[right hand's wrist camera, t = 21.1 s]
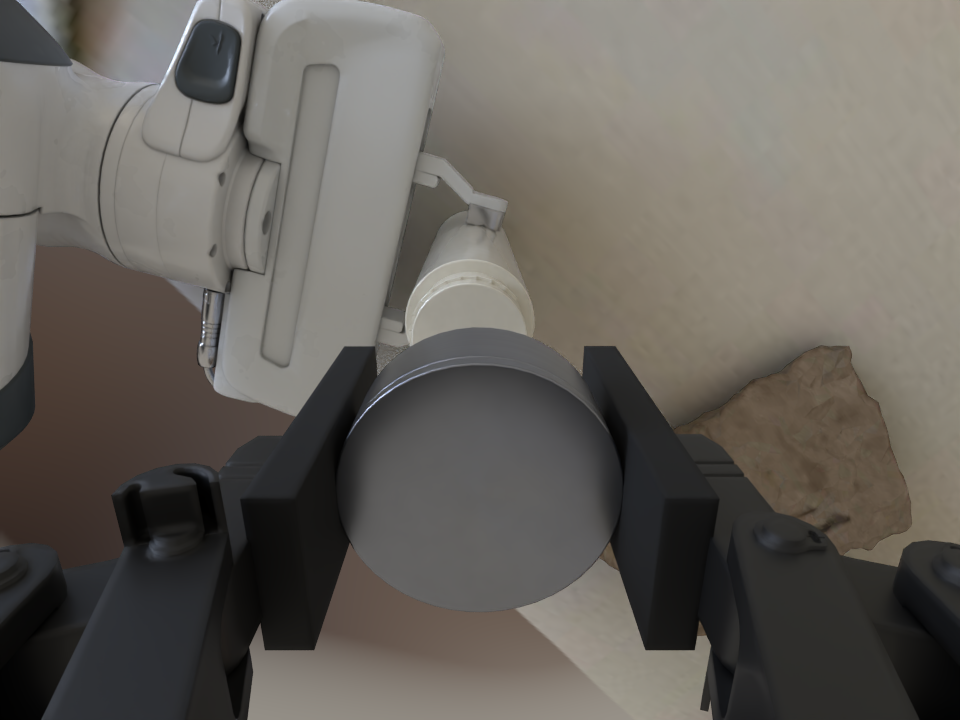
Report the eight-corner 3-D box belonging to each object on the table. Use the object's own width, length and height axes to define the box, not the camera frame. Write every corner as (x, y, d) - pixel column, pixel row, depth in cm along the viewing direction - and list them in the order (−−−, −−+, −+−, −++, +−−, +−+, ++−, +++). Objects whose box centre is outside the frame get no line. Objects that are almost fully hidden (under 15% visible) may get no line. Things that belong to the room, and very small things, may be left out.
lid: (644, 475, 12) (674, 535, 11) (445, 579, 13) (440, 652, 11) (520, 276, 11) (529, 304, 9) (307, 409, 12) (273, 460, 10)
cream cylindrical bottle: (424, 222, 35) (378, 292, 18) (497, 201, 35) (521, 252, 18) (446, 293, 36) (422, 420, 19) (516, 273, 36) (555, 386, 19)
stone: (643, 649, 42) (674, 704, 36) (541, 479, 41) (555, 506, 35) (891, 502, 42) (963, 532, 36) (796, 327, 41) (853, 328, 35)
